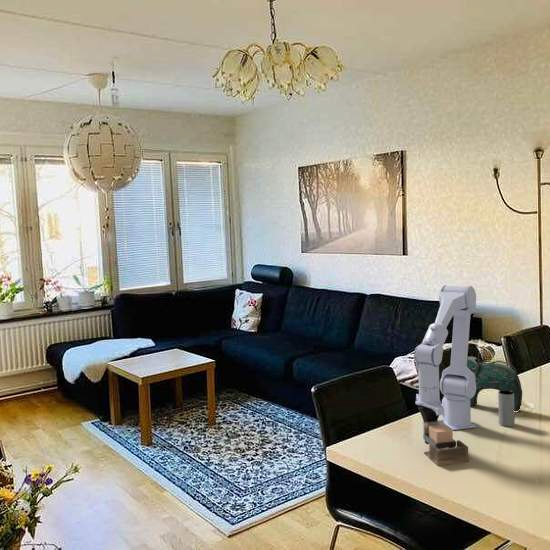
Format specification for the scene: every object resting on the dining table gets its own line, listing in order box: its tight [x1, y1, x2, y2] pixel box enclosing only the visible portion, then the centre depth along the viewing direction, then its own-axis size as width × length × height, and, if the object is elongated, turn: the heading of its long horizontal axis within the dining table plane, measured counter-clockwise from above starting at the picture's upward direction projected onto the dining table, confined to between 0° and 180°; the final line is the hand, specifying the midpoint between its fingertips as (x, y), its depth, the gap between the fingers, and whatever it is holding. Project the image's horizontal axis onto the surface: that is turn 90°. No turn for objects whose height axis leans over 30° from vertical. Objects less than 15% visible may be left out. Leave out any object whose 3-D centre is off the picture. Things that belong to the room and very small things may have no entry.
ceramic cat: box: [467, 349, 523, 411], centre depth 198 cm, size 20×6×20 cm, turn 56°
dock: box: [423, 439, 470, 467], centre depth 160 cm, size 8×9×4 cm
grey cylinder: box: [497, 390, 516, 428], centre depth 182 cm, size 4×4×10 cm
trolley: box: [422, 419, 457, 449], centre depth 164 cm, size 8×6×6 cm
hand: (430, 431), depth 170 cm, fingers closed
